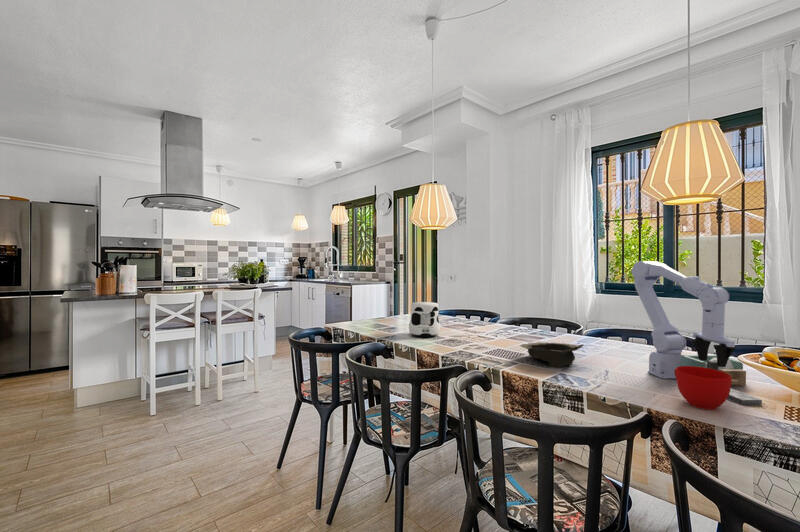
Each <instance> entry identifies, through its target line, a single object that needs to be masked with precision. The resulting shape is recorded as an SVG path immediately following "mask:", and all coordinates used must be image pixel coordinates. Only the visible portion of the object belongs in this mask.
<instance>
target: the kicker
mask: <svg viewBox="0 0 800 532" xmlns="http://www.w3.org/2000/svg"><path fill="white" fill-rule="evenodd" d="M707 368H709V369H714V370H718V368H719V367H718V365H717V362H715V361H707ZM719 371H722V372H725V373H727V374H729V375H730V376H731V377H732V382H731V387H732V386H740V387H741V386H743V387H744V386H746V385H747V370H744V369H743V370H741V369H719Z"/></svg>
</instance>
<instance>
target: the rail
mask: <svg viewBox="0 0 800 532" xmlns="http://www.w3.org/2000/svg"><path fill="white" fill-rule="evenodd" d="M726 400H729V401H732V402H734V403H736V404H738V405H742V406H762V404H763V400H762V399H761V398H757V397H755V396H752V395H750V394H747V393H745V392H742V391H740V390H737V389H735V388H732V387H731V389H730V393H729V396H728V398H727V399H726Z"/></svg>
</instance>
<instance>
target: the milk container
mask: <svg viewBox="0 0 800 532" xmlns="http://www.w3.org/2000/svg"><path fill="white" fill-rule="evenodd" d="M408 330H409V331H408V332H409V333H410V334H411V335H412V336H414V337H420V338H424V337H425V338H431V337H435V336H438V335H439V333H440V331H441V325H440V321H439V303H437V302H431V301H416V302H415V301H414V302H411V303H410V319H409V324H408Z"/></svg>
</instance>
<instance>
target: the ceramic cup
mask: <svg viewBox="0 0 800 532" xmlns="http://www.w3.org/2000/svg"><path fill="white" fill-rule="evenodd" d="M675 376H676V378H675V379H676V384H677V388H678V391H679V393H680V394H681V396H682V398H684V399H685V401H686V402H687V403H689V404H688V405H690V406H691V405H692V406H691V407H694V406H695V407H694V408H698V409H702V410H706V411H707V410H709V411H712V410H713V411H714V410H717V409H718V408H720V407H721V406H722V405H723V404H725V402H726V401H727V400H728V399H727V398H728V396H729V393H730V389H731V388H732V386H731V382H732V377H731V376H730V375H729V374H727V373H725V372H722V371H718V370H714V369H709V368H703V367H695V366H680V367H677V368H676V369H675Z"/></svg>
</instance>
